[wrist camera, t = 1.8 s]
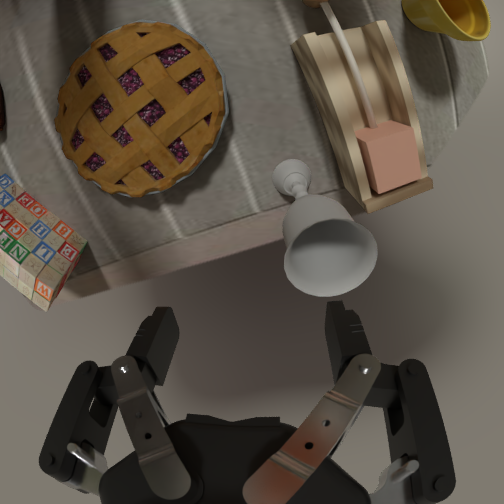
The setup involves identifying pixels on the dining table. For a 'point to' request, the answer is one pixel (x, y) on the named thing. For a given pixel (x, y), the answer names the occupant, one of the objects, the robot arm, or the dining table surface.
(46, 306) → the stack of blocks
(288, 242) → the chalice
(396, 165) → the pull block
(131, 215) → the dining table surface
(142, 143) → the pie
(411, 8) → the plant pot
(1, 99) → the pastry
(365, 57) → the light wooden box
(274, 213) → the dining table surface
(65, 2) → the dining table surface
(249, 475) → the robot arm
